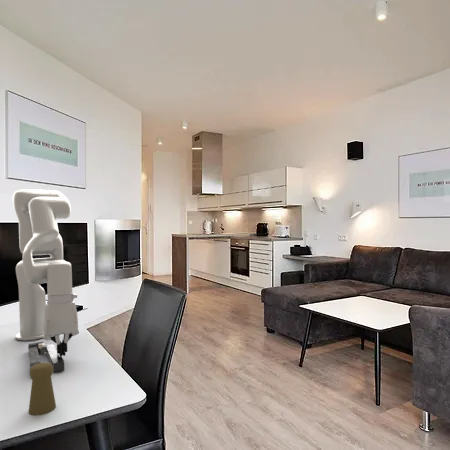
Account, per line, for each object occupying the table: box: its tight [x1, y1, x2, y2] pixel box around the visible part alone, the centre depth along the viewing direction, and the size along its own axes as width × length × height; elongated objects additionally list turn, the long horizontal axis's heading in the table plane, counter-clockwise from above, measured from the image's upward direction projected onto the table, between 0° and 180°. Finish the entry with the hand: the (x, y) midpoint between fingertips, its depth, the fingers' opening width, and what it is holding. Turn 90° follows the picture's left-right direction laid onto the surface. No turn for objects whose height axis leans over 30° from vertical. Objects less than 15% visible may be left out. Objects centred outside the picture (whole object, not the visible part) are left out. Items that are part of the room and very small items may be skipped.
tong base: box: [27, 341, 45, 370], centre depth 120 cm, size 26×5×3 cm, turn 31°
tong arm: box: [38, 342, 65, 373], centre depth 120 cm, size 22×5×3 cm, turn 32°
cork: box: [28, 361, 57, 416], centre depth 89 cm, size 6×6×11 cm
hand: (62, 354), depth 120 cm, fingers closed
